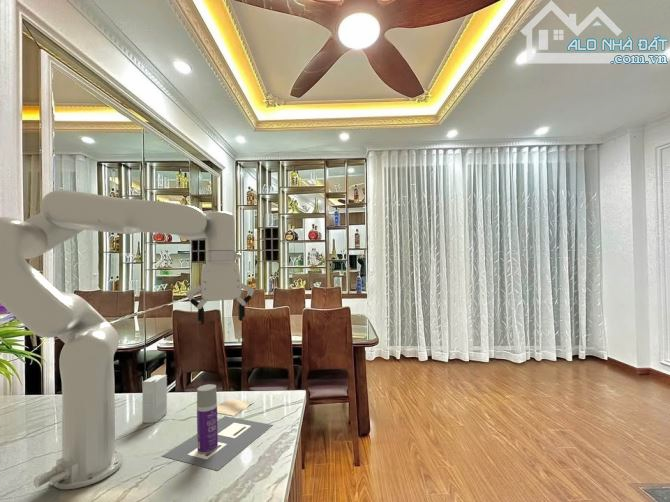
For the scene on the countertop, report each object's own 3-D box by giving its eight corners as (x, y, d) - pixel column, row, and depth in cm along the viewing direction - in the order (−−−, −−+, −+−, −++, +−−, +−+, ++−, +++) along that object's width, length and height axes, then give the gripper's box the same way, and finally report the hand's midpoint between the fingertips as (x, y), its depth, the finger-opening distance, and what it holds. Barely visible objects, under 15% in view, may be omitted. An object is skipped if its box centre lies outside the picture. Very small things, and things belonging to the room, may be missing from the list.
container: (211, 455, 79) (209, 391, 80) (193, 453, 80) (192, 390, 81) (221, 444, 84) (220, 384, 84) (204, 443, 85) (203, 383, 85)
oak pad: (233, 416, 100) (233, 415, 100) (207, 411, 104) (207, 411, 104) (253, 402, 109) (253, 402, 109) (229, 399, 113) (229, 398, 113)
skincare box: (154, 413, 103) (153, 374, 104) (167, 413, 103) (167, 374, 103) (141, 423, 97) (141, 381, 97) (156, 423, 97) (155, 381, 97)
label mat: (217, 470, 73) (217, 470, 73) (161, 456, 80) (161, 455, 80) (272, 425, 93) (272, 424, 93) (224, 416, 100) (224, 415, 100)
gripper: (251, 257, 96) (252, 317, 95) (186, 259, 89) (186, 323, 89) (255, 256, 89) (257, 320, 88) (185, 258, 82) (186, 327, 82)
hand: (221, 321), depth 88 cm, fingers open, 9 cm apart
